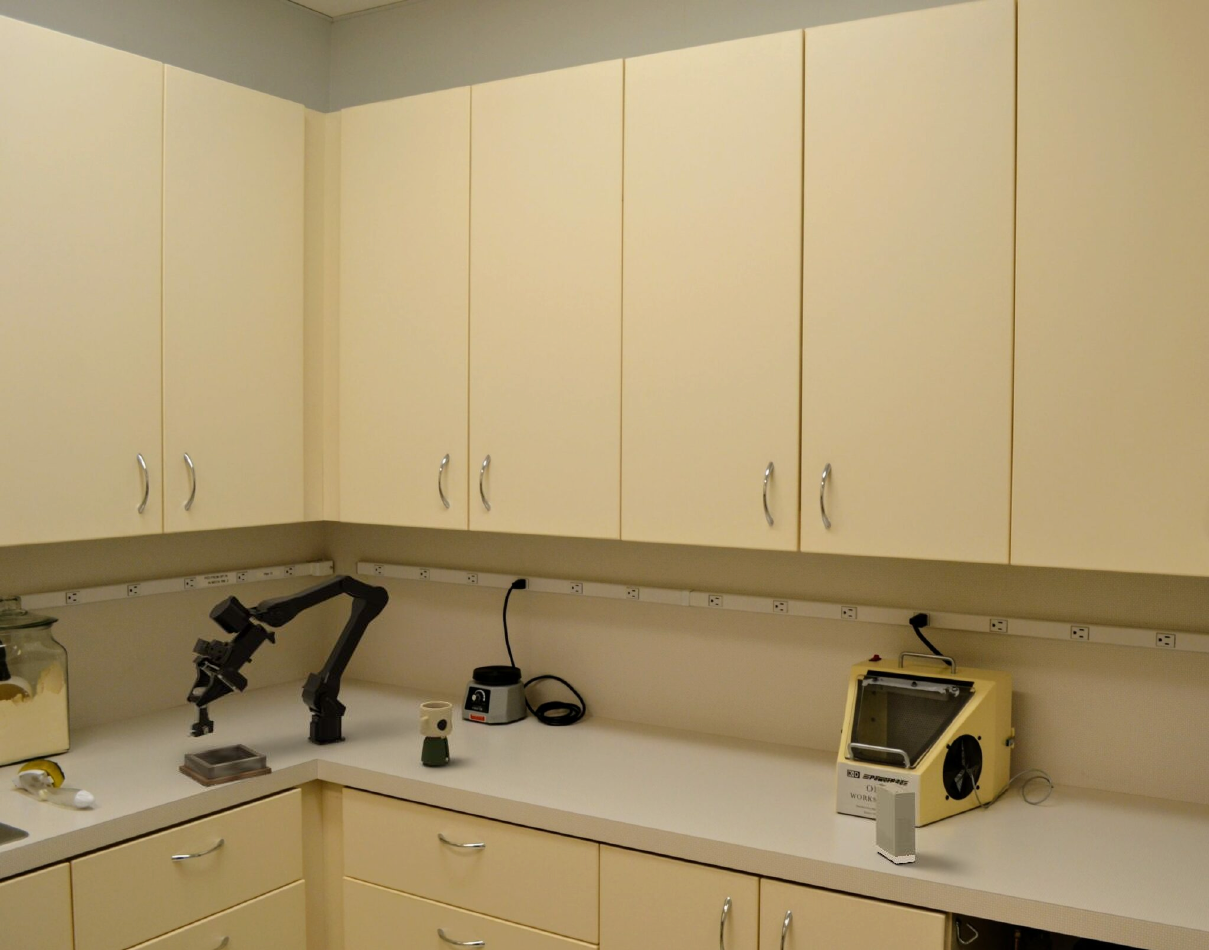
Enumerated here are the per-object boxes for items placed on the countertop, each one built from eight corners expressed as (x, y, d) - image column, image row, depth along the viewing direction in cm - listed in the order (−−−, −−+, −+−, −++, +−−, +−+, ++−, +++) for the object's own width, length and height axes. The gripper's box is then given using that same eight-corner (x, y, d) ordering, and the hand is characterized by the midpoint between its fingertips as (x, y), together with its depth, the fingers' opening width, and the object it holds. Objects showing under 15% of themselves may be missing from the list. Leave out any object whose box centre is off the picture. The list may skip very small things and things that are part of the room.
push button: (196, 741, 220) (197, 694, 219) (177, 737, 222) (178, 691, 221) (219, 733, 226) (220, 688, 225) (201, 729, 228) (202, 684, 227)
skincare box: (916, 862, 175) (918, 792, 175) (894, 865, 173) (895, 794, 173) (894, 849, 181) (896, 781, 180) (873, 852, 179) (874, 783, 179)
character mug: (434, 772, 220) (435, 712, 220) (407, 767, 223) (407, 708, 223) (462, 759, 230) (463, 701, 230) (436, 755, 233) (437, 697, 233)
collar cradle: (242, 758, 228) (242, 742, 228) (271, 772, 218) (271, 756, 218) (179, 770, 218) (179, 754, 218) (206, 786, 208) (206, 769, 208)
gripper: (201, 618, 233) (150, 674, 226) (233, 630, 219) (180, 689, 212) (236, 649, 238) (187, 704, 231) (269, 662, 224) (218, 721, 217)
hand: (192, 703), depth 223 cm, fingers closed on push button, 5 cm apart
